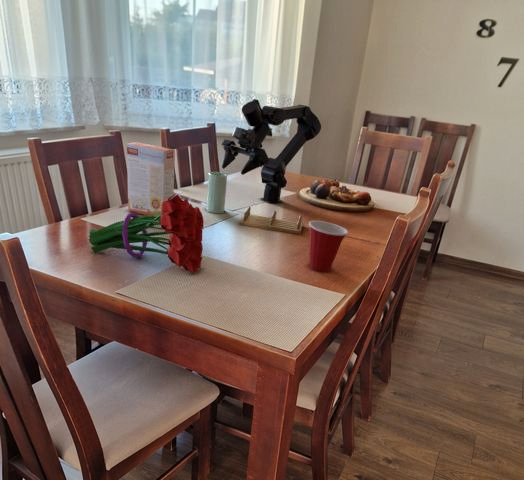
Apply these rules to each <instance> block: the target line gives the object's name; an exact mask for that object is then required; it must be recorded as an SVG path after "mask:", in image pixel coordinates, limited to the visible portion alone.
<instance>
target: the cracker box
mask: <svg viewBox="0 0 524 480" xmlns="http://www.w3.org/2000/svg"><path fill="white" fill-rule="evenodd" d="M175 156H176V150H175V149H172V148H167V147H163V146H159V145H153V144H148V143H144V142H139V141H135V142H128V143H126V162H127V163H126V168H127V170H126V171H127V172H126V173H127V210H128V211H129V212H131V213H136V214H138V215H142V216H144V215H152V216H159V215H160V214H162V213H161V212H162V202H163V201H165V200H167V199H168V198H170V197H171V196H173V197H175V162H176V161H175V160H176V159H175ZM173 197H172V198H173ZM172 198H171V199H172ZM171 199H170V200H171Z"/></svg>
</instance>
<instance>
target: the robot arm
mask: <svg viewBox="0 0 524 480" xmlns="http://www.w3.org/2000/svg"><path fill="white" fill-rule="evenodd" d="M241 113H242V115H243V117H244V118H245V121H246V122H247V124H248V126H249V127H251V128H248V129H245V128H242V127H238V126H235V127H234V130H233V132H232V135H231V136H232V137H233V138H235V139H236V140H237V142H235V141H234V140H231V139H228V138H225V139H223V141H222V142H221V146H222V148H223V150H224V157H223V161H222V164H221V168H222V170H225V169H226V168H227V167H228V166H229V165H230V164H231V163H233V162H234V161H235V160H236V157H238V155H239V154H241V155H245V156H247V157H248V160H247V161H246V163H245V165H244V166H243V168H242V170H241V171H240V174H241V175H242V176H243V175H246V174H248V173H249V172H251V171H253V170H256V169H259V168H261V170H260V176H261V183H262V184H265V185H264V190H263V197H260V200H262V201H265V202H266V203H269V204H276V203H283V200H282V199H281V193H282V189H284V188H286V186H287V184H288V181H287V179H286V177H285V175H286V169H287V166H288V165H289V164H290V163H291V161H292V160H293V159H294V157H295V156H296V155H297V154H298V152H300V150H301V149H302V147H303V146H304V145H305V144H306V143H307V142H308V141H311V140H313V139H315V138H316V137H317V136H318V135H319V134H320V132H321V130H322V124H321V121H320V120H319V117H318V116H317V115H316V114H315V113H314V112H313V111H312V110H311V107H309V105H304V104H296V105H291V106H284V107H277V106H272V105H264V106H261V103H260V100H259V99H257V98H253V99H252V100H251V101H248V102H247V103H245V104H243V105H242V107H241ZM293 119H294V120H296V124H297V126H296V133H295V134H294V135H293V137H292V138H291V140H289V142H288V143H287V144H286V145H285V147H284V148H283V149H282V151H281V152H280V153H279V154H278V155H277V156H276V157H275V158H273V157H269V156H268V154H267V152H266V150H265V148H263V142H264V141H265V139H266V137H269V138H272V137H273V128H271V127H270V126H274V127H277V126H280V125H282V124H283V123H284V122H285V121H288V120H293ZM237 144H238V145H237Z"/></svg>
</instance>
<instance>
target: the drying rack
mask: <svg viewBox="0 0 524 480" xmlns="http://www.w3.org/2000/svg"><path fill="white" fill-rule="evenodd" d="M251 209H252V208H251V206H248V207H247V209H246V210H245V212H244V213H243V218H242V220H241V221H240V222H241V223H240V225H241V226H247V227H253V228H260V229H266V230H272V231H277V232H284V233H290V234H296V235H301V233H302V228H303V223H304V222H302V221H303V215H302V214H299V216H298V221H291V220H290V221H289V220H284V219H279V218H277V211H276V210H273V212H272V215H271V217H267V216H260V215H256V214H255V215H254V214H251Z"/></svg>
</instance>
